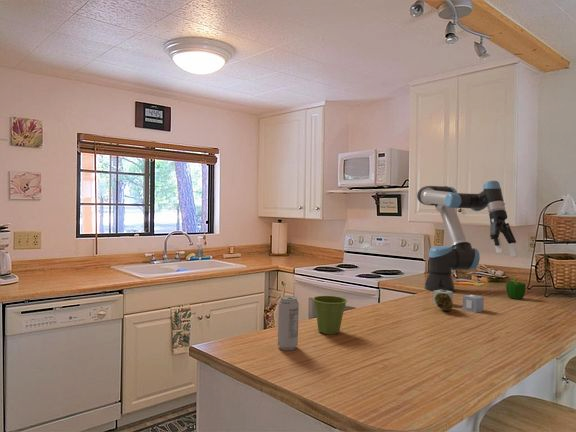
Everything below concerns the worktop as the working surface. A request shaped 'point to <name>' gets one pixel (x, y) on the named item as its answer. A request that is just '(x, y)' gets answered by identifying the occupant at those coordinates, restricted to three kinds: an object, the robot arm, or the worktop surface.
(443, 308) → the potato
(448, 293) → the sage block
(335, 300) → the plant pot
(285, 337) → the energy drink can
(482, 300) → the slate blue block
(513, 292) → the bell pepper
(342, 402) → the worktop surface
